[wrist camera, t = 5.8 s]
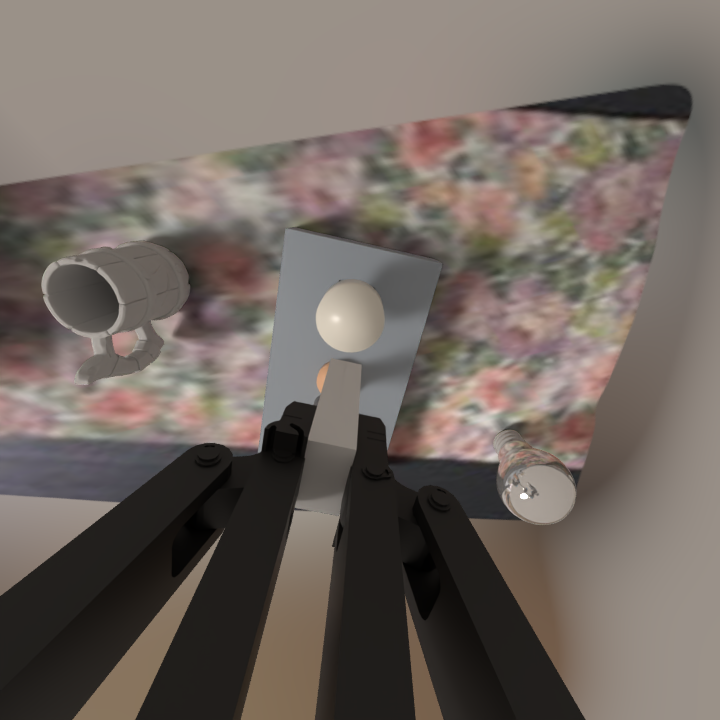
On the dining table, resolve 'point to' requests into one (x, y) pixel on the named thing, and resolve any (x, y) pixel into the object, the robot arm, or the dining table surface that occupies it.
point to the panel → (310, 352)
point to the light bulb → (532, 481)
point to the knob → (350, 316)
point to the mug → (116, 301)
